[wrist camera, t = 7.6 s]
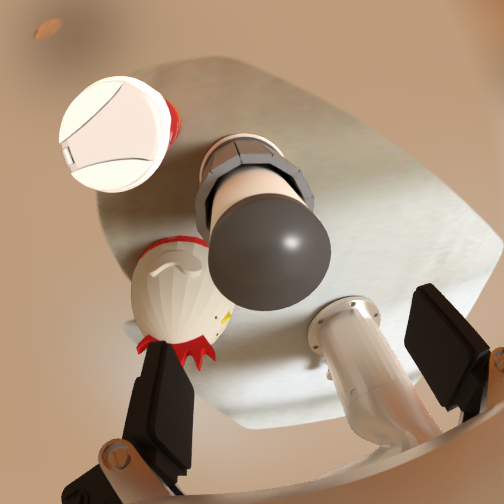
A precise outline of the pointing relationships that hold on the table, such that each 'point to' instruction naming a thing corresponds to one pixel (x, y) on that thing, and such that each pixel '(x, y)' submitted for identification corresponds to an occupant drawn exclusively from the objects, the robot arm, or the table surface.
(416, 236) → the table surface
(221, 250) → the plunger
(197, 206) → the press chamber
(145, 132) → the coffee cup
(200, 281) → the kitchen timer
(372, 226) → the table surface
